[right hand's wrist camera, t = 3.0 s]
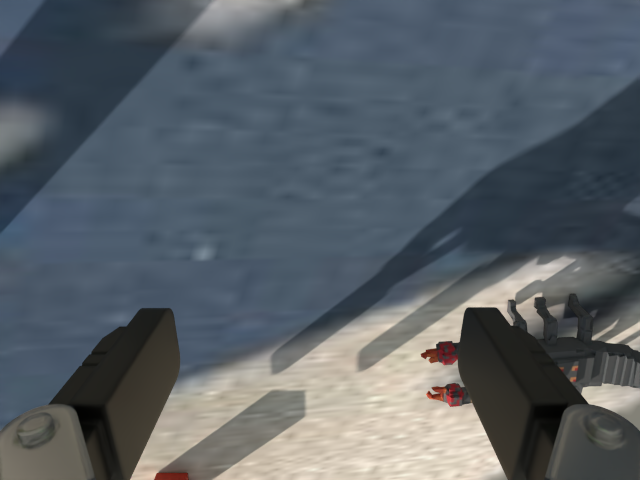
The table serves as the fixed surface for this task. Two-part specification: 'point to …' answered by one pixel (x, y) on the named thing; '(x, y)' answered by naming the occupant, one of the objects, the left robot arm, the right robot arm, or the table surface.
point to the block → (171, 476)
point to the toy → (557, 355)
